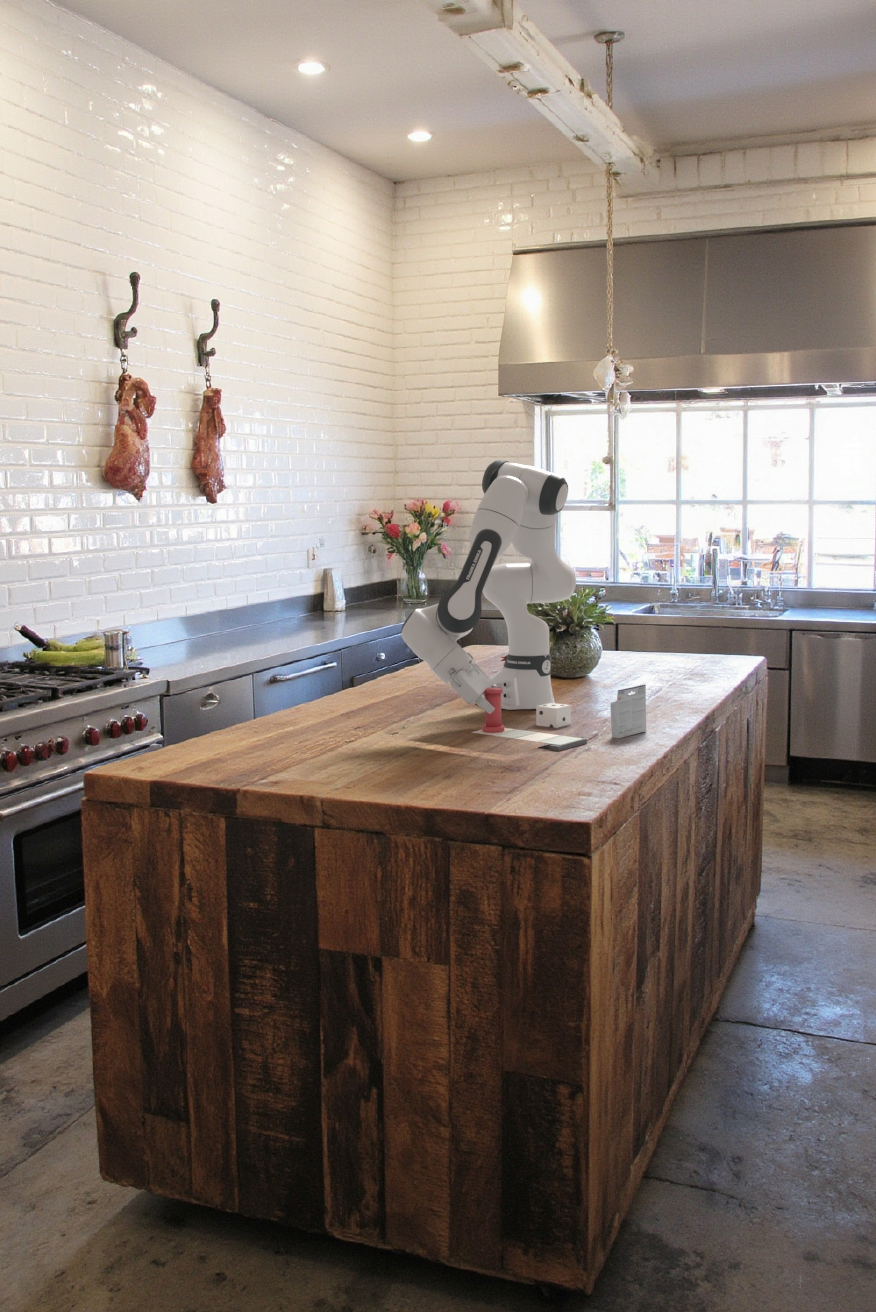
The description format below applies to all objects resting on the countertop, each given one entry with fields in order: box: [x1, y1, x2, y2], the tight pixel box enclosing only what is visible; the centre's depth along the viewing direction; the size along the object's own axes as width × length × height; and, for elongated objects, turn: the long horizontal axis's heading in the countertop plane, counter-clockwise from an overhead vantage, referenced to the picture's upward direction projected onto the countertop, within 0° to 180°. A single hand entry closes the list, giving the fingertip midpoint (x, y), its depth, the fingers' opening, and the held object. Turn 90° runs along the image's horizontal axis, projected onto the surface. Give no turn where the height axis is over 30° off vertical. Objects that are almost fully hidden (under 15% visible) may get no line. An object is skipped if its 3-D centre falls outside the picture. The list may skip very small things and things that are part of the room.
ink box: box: [610, 684, 647, 740], centre depth 272 cm, size 12×2×12 cm, turn 135°
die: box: [535, 702, 572, 729], centre depth 281 cm, size 6×6×6 cm
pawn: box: [481, 688, 505, 734], centre depth 274 cm, size 5×5×10 cm
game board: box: [471, 727, 588, 752], centre depth 268 cm, size 26×11×1 cm, turn 49°
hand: (495, 708), depth 274 cm, fingers open, 8 cm apart
